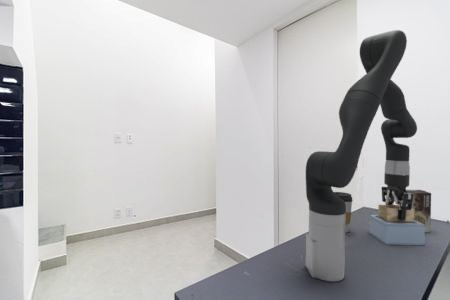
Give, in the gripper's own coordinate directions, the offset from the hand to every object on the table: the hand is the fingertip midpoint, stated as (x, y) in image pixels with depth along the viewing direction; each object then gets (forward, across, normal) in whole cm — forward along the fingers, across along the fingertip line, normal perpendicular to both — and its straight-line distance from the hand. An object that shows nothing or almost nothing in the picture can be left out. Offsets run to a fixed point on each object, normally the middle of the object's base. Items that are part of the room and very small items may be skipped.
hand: (395, 217), depth 88 cm
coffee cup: (+8, -7, -17) cm, 20 cm away
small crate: (+1, 0, 0) cm, 1 cm away
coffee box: (+8, -10, +14) cm, 19 cm away
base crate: (+8, 0, 0) cm, 8 cm away
